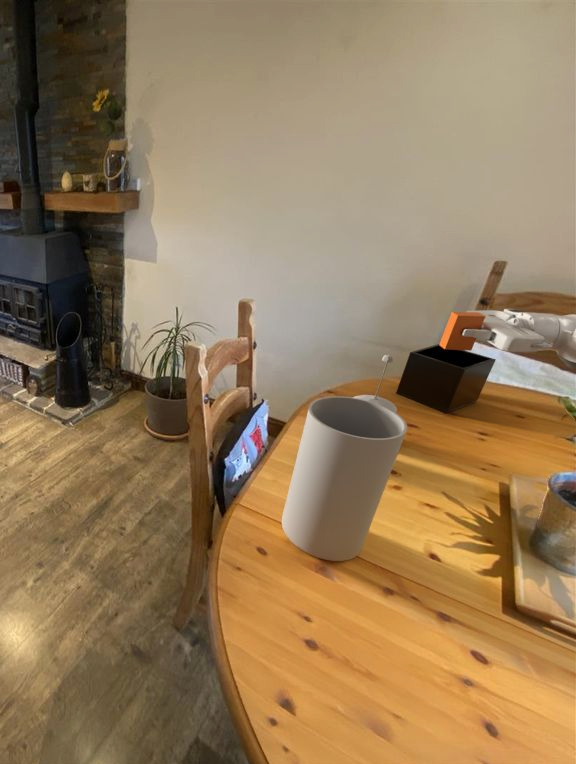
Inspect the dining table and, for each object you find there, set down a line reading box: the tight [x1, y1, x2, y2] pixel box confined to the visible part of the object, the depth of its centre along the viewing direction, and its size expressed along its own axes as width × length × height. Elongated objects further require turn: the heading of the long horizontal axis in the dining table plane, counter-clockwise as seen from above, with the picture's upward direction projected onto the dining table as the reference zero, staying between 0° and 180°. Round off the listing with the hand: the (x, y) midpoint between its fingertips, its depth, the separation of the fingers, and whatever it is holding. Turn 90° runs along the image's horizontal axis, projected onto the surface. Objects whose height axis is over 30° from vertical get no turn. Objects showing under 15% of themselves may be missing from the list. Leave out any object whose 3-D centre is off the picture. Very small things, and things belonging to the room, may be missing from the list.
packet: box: [438, 311, 486, 352], centre depth 104 cm, size 6×3×9 cm, turn 73°
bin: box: [395, 343, 497, 415], centre depth 110 cm, size 12×12×13 cm
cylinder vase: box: [281, 395, 408, 562], centre depth 69 cm, size 12×12×25 cm
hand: (458, 329), depth 104 cm, fingers closed on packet, 3 cm apart
